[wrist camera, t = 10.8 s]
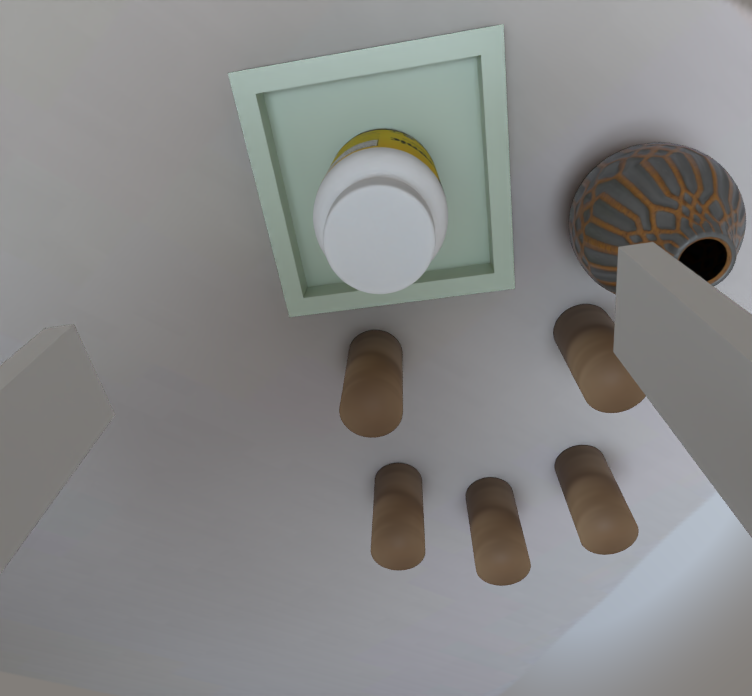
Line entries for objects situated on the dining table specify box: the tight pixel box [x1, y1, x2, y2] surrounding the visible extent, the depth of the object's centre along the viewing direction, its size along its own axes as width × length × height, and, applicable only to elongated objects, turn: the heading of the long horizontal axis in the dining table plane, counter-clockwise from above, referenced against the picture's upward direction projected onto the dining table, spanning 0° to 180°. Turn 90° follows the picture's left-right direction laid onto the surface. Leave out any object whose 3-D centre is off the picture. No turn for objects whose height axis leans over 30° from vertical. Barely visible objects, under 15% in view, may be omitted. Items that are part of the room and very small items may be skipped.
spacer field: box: [339, 304, 646, 586], centre depth 33 cm, size 15×15×6 cm
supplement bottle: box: [313, 128, 448, 294], centre depth 24 cm, size 5×5×10 cm
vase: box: [569, 142, 746, 294], centre depth 25 cm, size 7×7×9 cm
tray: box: [228, 24, 515, 317], centre depth 28 cm, size 12×12×2 cm
